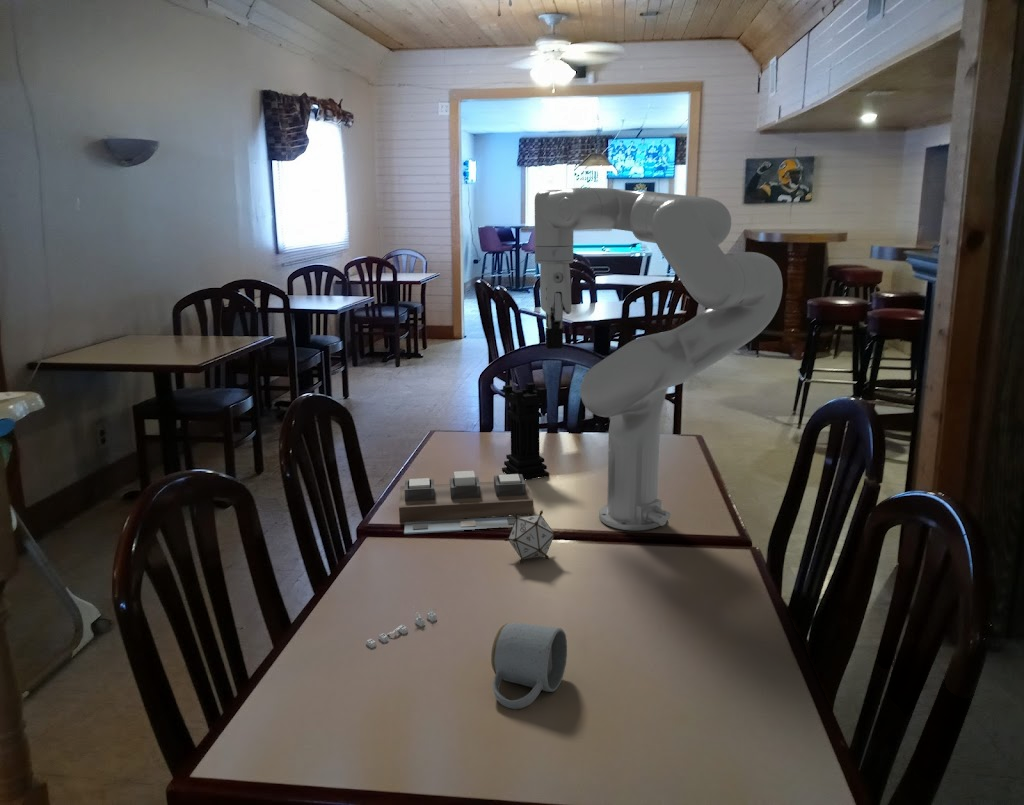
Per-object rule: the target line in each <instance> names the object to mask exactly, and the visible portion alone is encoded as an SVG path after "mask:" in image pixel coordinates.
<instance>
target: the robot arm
mask: <svg viewBox="0 0 1024 805" xmlns="http://www.w3.org/2000/svg"><path fill="white" fill-rule="evenodd" d="M731 228H732V216H731V214H730V211H729V209H728V208H727V207H726V206H725V205H724V204H723V203H722V202H720V201H719V200H716V199H715V198H709V197H706V196H697V195H696V196H695V195H685V194H675V193H664V192H657V191H648V190H647V191H638V190H627V189H619V188H609V187H608V188H606V187H573V188H567V189H547V190H545V189H544V190H539V191H538V192H536V194H535V196H534V263H535V264H539V265H540V270H539V276H540V278H539V280H540V281H539V284H540V285H539V286H540V288H539V289H540V290H539V291H540V293H539V294H540V297H539V298H540V308H541V310H542V311H543V312H544V313H545V347H546V349H548V350H551V349H553V350H554V349H562V348H563V347H564V346H563V345H564V344H563V342H564V340H563V339H564V338H563V337H564V336H563V334H564V333H563V332H564V328H563V318H564V317H563V316H564V315H563V314H564V313H565V314H566V315H571V313H572V310H573V308H572V286H571V283H572V282H571V281H572V280H571V270H570V264H572V263H574V231H579V230H580V231H581V230H594V229H595V230H596V229H597V230H598V229H602V230H603V229H606V230H607V229H611V230H618V231H619V230H620V231H626V232H632V234H633V235H634V236H633V237H635V239H637V240H639V241H641V242H646V243H650V244H651V243H653V244H656V246H657V247H658V248H659V251H660V252H661V254H662V256H664V259H665V260H666V261H667V263H668V264H669V266H670V268H671V269H672V270H673V271H674V273H675V275H676V276H677V277H678V279H679V280H680V282H681V284H682V285H683V286H684V288H685V290H686V291H687V292H688V293H689V295H690V296H691V297H692V298H693V300H694V301H696V302H697V303H698V304H699V305H701V306H702V307H704V308H706V309H704V310H703V311H701V312H700V313H697V314H696V315H695V316H694V317H692V318H691V319H690V320H687V321H685V323H683V324H681V325H679V326H677V327H675V328H673V329H671V330H670V329H669V330H667V331H661V332H658V333H652V334H648V335H644V336H640V337H638V338H635V339H633V340H631V341H629V342H627V343H626V344H624V345H623V346H621V347H619V348H618V349H617V350H616V351H613V352H612V353H611V354H610V355H608V356H606V357H605V358H604V359H602V360H600V361H599V362H597V363H595V365H593V366H592V367H590V368H589V370H588V371H587V372H586V373H585V375H584V376H583V378H582V381H581V384H580V398H581V399H580V400H581V401H582V404H583V405H584V407H585V408H586V409H587V410H588V411H589V412H590V413H591V414H593V415H596V416H598V417H603V418H610V419H609V420H610V422H609V426H608V427H609V428H608V439H607V440H608V441H607V442H608V444H607V446H608V448H607V454H608V455H607V502H606V503H607V504H605V505H603V506H602V507H601V508H600V509H599V512H598V517H599V520H600V521H601V522H602V523H603V524H604V525H606V526H609V527H611V528H614V529H618V530H622V531H648V530H653V529H655V528H658V527H660V526H661V527H662V526H665V525H666V523H667V521H668V520H669V519H670V517H671V512H670V511H667V510H664V509H662V499H659V498H658V495H659V494H658V493H659V492H658V490H659V467H660V466H659V465H660V464H659V463H660V461H659V460H660V439H661V437H660V436H661V421H662V420H661V419H662V413H663V407H664V403H665V398H666V394H667V389H668V388H671V387H675V386H678V385H681V384H684V383H686V382H687V381H690V380H691V379H692V378H694V377H695V376H697V375H698V374H699V373H701V372H703V371H705V370H706V369H708V368H709V367H711V366H713V365H714V364H717V363H718V362H719V361H721V360H723V358H724V359H725V358H726V357H727V356H729V355H730V354H732V353H734V352H736V351H737V350H739V349H740V348H742V347H743V346H745V345H746V344H748V343H749V342H751V341H752V340H753V339H755V338H756V337H757V336H758V335H760V333H762V332H763V331H764V329H766V327H768V325H769V324H770V323H771V321H772V320H773V318H774V317H775V315H776V313H777V312H778V309H779V307H780V304H781V300H782V296H783V288H784V287H783V277H782V272H781V270H780V267H779V266H778V264H777V263H776V262H775V261H774V259H772V257H769V256H767V255H765V254H763V253H760V252H753V251H742V252H733V253H724V252H723V250H722V248H721V246H719V245H721V243H723V242H724V241H725V240H726V239H727V237H728V236H729V234H730V231H731Z"/></svg>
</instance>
